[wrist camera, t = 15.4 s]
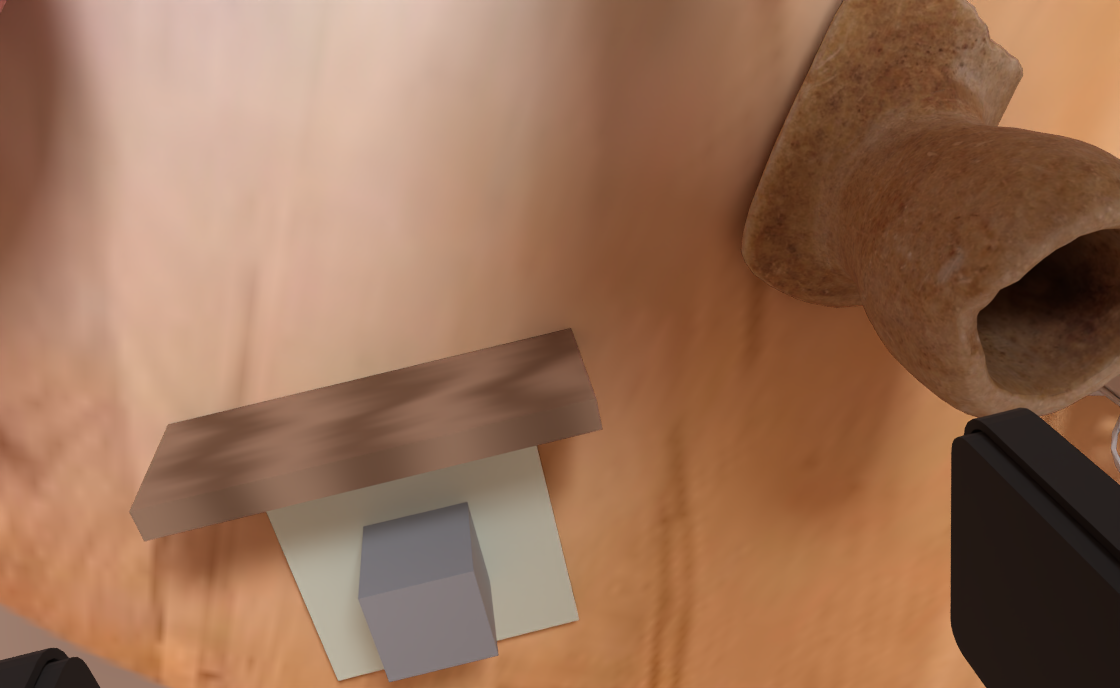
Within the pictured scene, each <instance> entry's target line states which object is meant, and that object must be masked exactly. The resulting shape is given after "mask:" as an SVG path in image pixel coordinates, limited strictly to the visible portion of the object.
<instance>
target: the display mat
mask: <svg viewBox="0 0 1120 688" xmlns="http://www.w3.org/2000/svg"><path fill="white" fill-rule="evenodd" d="M464 502H468V506H469V509H470V513H471V516H472V520H473V523H474V527H475V530H476V534H477V537H478V541H479V544H480V548H481V551H482V555H483V558H484V562H485V565H486V569H487V572H488V576H489V579H490V585H491V594H492V603H493V611H494V620H495V629H496V638H497V641H498V640H502V639H506V638H510V637H514V636H518V635H522V634H526V633H530V632H534V631H538V630H542V629H545V628H549V627H553V626H557V625H561V624H565V623H569V622H573V621H577V620H579V616H578V612H577V608H576V604H575V600H574V596H573V592H572V587H571V583H570V579H569V575H568V571H567V567H566V563H565V559H564V555H563V551H562V547H561V543H560V539H559V534H558V530H557V526H556V522H555V518H554V514H553V510H552V506H551V502H550V498H549V494H548V490H547V486H546V481H545V477H544V473H543V469H542V465H541V461H540V457H539V453H538V449H537V446H533V447H528V448H524V449H520V450H516V451H512V452H508V453H504V454H500V455H496V456H492V457H488V458H483V459H479V460H475V461H471V462H467V463H463V464H459V465H455V466H451V467H447V468H443V469H438V470H434V471H430V472H426V473H422V474H418V475H414V476H410V477H406V478H402V479H398V480H393V481H389V482H385V483H381V484H377V485H373V486H369V487H365V488H361V489H357V490H352V491H348V492H344V493H340V494H336V495H332V496H328V497H324V498H320V499H316V500H312V501H307V502H303V503H299V504H295V505H291V506H287V507H283V508H279V509H275V510H271V511H267V515H268V517H269V519H270V522H271V524H272V526H273V529H274V531H275V534H276V536H277V538H278V541H279V543H280V545H281V548H282V550H283V552H284V555H285V557H286V559H287V562H288V564H289V566H290V569H291V571H292V573H293V576H294V578H295V581H296V583H297V585H298V588H299V590H300V592H301V595H302V597H303V599H304V602H305V604H306V606H307V609H308V611H309V613H310V616H311V618H312V620H313V623H314V625H315V627H316V630H317V632H318V635H319V637H320V639H321V642H322V644H323V646H324V649H325V651H326V653H327V656H328V658H329V660H330V663H331V665H332V667H333V670H334V672H335V674H336V677H337V679H338V681H340V680H344V679H348V678H352V677H356V676H360V675H363V674H367V673H371V672H375V671H379V670H383V669H384V667H383V664H382V662H381V659H380V656H379V654H378V651H377V648H376V646H375V643H374V640H373V638H372V635H371V632H370V630H369V627H368V624H367V622H366V619H365V616H364V614H363V611H362V608H361V606H360V603H359V600H358V592H359V578H360V565H361V551H362V537H363V526H368V525H372V524H376V523H380V522H384V521H388V520H393V519H397V518H401V517H405V516H409V515H414V514H418V513H422V512H426V511H430V510H435V509H439V508H443V507H447V506H451V505H456V504H460V503H464Z"/></svg>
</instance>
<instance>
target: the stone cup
mask: <svg viewBox="0 0 1120 688" xmlns="http://www.w3.org/2000/svg"><path fill="white" fill-rule="evenodd" d="M1022 76H1023V69H1022V67H1021V65H1020V63H1019V61H1018V59H1017V58H1015V57H1014V56H1012V55H1010V54H1009V53H1008V52H1007V51H1006V50H1005V49H1004V48H1003V47H1002V46H1001V45H999V44H997V43H996V42H994V41H993V40H992V39H990V36H989V31H988V27H987V25H986V24H985V23H984V22H983V21H982V19H981V18H980V17H979V16H978V14H977V11H976V9H975V7H974V6H973V5H972V4H970V3H969V2H968V1H967V0H843V2H842V4H841V6H840V7H839V9H838V11H837V12H836V14H835V16H834V18H833V20H832V22H831V24H830V26H829V28H828V31H827V33H826V35H825V37H824V39H823V41H822V43H821V45H820V47H819V50H818V52H817V54H816V56H815V58H814V60H813V63H812V65H811V67H810V69H809V71H808V74H807V76H806V78H805V80H804V82H803V84H802V86H801V88H800V90H799V92H798V94H797V96H796V98H795V100H794V103H793V105H792V107H791V109H790V111H789V114H788V116H787V118H786V120H785V122H784V124H783V127H782V129H781V131H780V133H779V136H778V138H777V140H776V142H775V145H774V147H773V149H772V152H771V154H770V157H769V159H768V162H767V164H766V167H765V169H764V172H763V174H762V177H761V179H760V182H759V184H758V187H757V189H756V192H755V195H754V197H753V200H752V202H751V205H750V208H749V212H748V215H747V219H746V223H745V227H744V232H743V236H742V246H741V253H742V255H743V258H744V261H745V263H746V264H747V265H748V266H749V268H750V270H751V271H752V273H753V274H755V275H756V276H757V277H759V278H760V279H761V280H763V281H764V282H766V283H767V284H768V285H770V286H771V287H773V288H775V289H777V290H779V291H781V292H783V293H785V294H788V295H790V296H792V297H794V298H796V299H799V300H802V301H805V302H809V303H814V304H819V305H824V306H828V307H837V308H839V307H850V306H861V305H863V307H864V309H865V311H866V314H867V316H868V318H869V320H870V322H871V323H872V325H873V327H874V329H875V330H876V332H877V334H878V336H879V337H880V339H881V340H882V342H883V343H884V345H885V346H886V348H887V349H888V350H889V352H890V353H891V354H892V355H893V356H894V357H895V358H896V359H897V360H898V361H899V362H900V363H901V364H902V365H903V366H904V368H905V369H906V370H907V371H908V372H910V373H911V374H912V375H913V376H914V377H915V378H916V379H917V380H918V381H919V382H921V383H922V384H923V385H924V386H925V387H927V388H928V389H929V390H930V391H932V392H933V393H934V394H935V395H937V396H938V397H939V398H941V399H942V400H944V401H945V402H947V403H948V404H950V405H951V406H953V407H954V408H956V409H958V410H960V411H962V412H964V413H966V414H968V415H972V416H975V417H978V418H980V417H984V416H988V415H992V414H996V413H1000V412H1004V411H1008V410H1012V409H1016V408H1020V407H1021V408H1028V409H1029V410H1031V411H1032V412H1034V413H1035V414H1037V415H1038V416H1042V415H1047V414H1052V413H1054V412H1056V411H1059V410H1061V409H1063V408H1066V407H1068V406H1070V405H1071V404H1073V403H1075V402H1077V401H1079V400H1080V399H1082V398H1084V397H1086V396H1088V395H1090V394H1092V393H1094V392H1096V391H1098V390H1099V389H1100V388H1102V387H1103V386H1104V385H1105V384H1107V383H1108V382H1109V381H1110V380H1112V379H1113V378H1114V377H1116V376H1117V375H1119V374H1120V159H1118V158H1116V157H1115V156H1113V155H1112V154H1110V153H1108V152H1106V151H1104V150H1102V149H1100V148H1098V147H1096V146H1094V145H1091V144H1088V143H1086V142H1083V141H1080V140H1076V139H1072V138H1068V137H1064V136H1060V135H1053V134H1047V133H1041V132H1035V131H1030V130H1025V129H1019V128H1011V127H998V124H999V122H1000V120H1001V118H1002V116H1003V114H1004V112H1005V110H1006V108H1007V106H1008V104H1009V102H1010V100H1011V98H1012V96H1013V93H1014V91H1015V89H1016V87H1017V85H1018V84H1019V82H1020V80H1021V78H1022Z"/></svg>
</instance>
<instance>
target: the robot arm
mask: <svg viewBox="0 0 1120 688" xmlns="http://www.w3.org/2000/svg"><path fill="white" fill-rule="evenodd" d="M951 627H952V631H953V635H954V637H955V640H956V643H957V645H958V647H959V649H960V651H961V653H962V654H963V656H964V657H965V659H966V660H967V662H968V663H969V664H970V666H971V667H972V669H973V670H974V671H975V673H976V674H977V675H978V677H979V678H980V680H981V681H982V682H983V684H984V685H985V687H986V688H1120V485H1119V484H1118V483H1117V482H1115V481H1114V480H1113V479H1112V478H1111V477H1110V476H1108V475H1107V474H1106V473H1105V472H1104V471H1103V470H1101V469H1100V468H1099V467H1098V466H1097V465H1095V464H1094V463H1093V462H1092V461H1091V460H1090V459H1088V458H1087V457H1086V456H1085V455H1084V454H1083V453H1081V452H1080V451H1079V450H1078V449H1077V448H1075V447H1074V446H1073V445H1072V444H1071V443H1070V442H1068V441H1067V440H1066V439H1065V438H1064V437H1062V436H1061V435H1060V434H1059V433H1058V432H1057V431H1055V430H1054V429H1053V428H1052V427H1051V426H1050V425H1048V424H1047V423H1046V422H1045V421H1044V420H1042V419H1041V418H1040V417H1039V416H1038V415H1037V414H1035V413H1034V412H1032V411H1031V410H1029V409H1028V408H1021V407H1020V408H1016V409H1012V410H1008V411H1004V412H1000V413H996V414H992V415H988V416H984V417H980V418H976V419H972V420H971V421H969V422H968V423H967V425H966V427H965V431H964V436H960V437H957V438H955V439H954V441H953V443H952V452H951ZM0 688H100V686H99V685H98V683H97V681H96V680H95V678H94V676H93V675H92V673H91V671H90V670H89V668H88V667H87V665H86V664H85V662H84V661H83V660H82V659H80V658H78V657H72V658H68V657H67V655H66V654H65V653H64V652H63V651H61V650H59V649H58V648H48V649H44V650H41V651H36V652H32V653H29V654H24V655H20V656H16V657H12V658H8V659H4V660H0Z"/></svg>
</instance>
